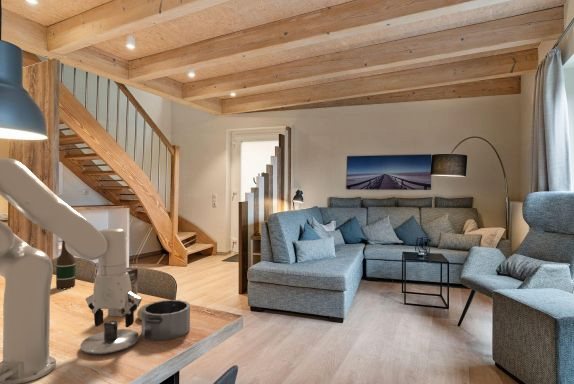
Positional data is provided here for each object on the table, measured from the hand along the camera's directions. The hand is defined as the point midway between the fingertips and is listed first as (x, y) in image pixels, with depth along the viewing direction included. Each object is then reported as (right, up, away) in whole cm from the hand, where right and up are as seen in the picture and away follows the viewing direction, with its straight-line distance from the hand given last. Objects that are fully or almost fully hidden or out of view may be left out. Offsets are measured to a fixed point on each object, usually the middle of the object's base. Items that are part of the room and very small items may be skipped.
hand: (114, 325), depth 104 cm
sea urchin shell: (+2, -6, +22) cm, 23 cm away
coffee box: (-10, -6, +27) cm, 30 cm away
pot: (+12, -6, +10) cm, 17 cm away
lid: (-1, -6, -1) cm, 6 cm away
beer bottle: (-54, -5, +60) cm, 81 cm away
